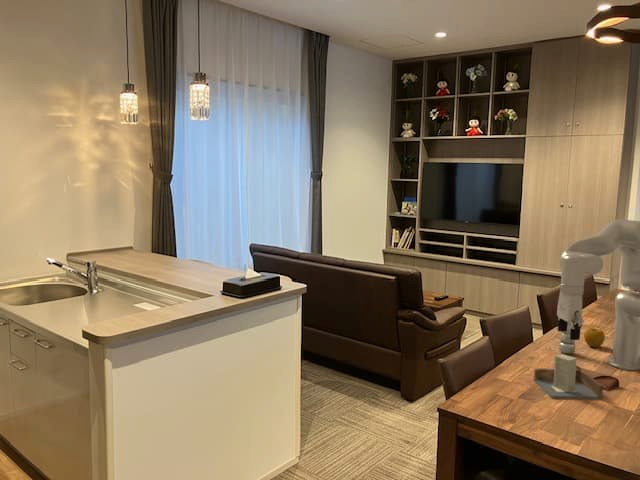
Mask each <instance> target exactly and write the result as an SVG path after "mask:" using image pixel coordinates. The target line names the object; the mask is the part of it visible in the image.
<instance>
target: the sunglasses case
mask: <svg viewBox="0 0 640 480" xmlns="http://www.w3.org/2000/svg"><path fill="white" fill-rule="evenodd" d="M576 369H581V370H583V371H584V372H585V373H587V374H588V375H589V376H591V377H592V378H593V379H594V380H596V381H597V382H598V383H600V384H601V385H602V386H603V391H607V392H611V391H612V390H614V389H617V388H619V387H620V381H619V379H618V378H617V377H614V376H612V375H606V374H604V373H603V374H602V373H601V372H596V371H594V370H590V369H587V368H583V367H580V366H579V365H576Z"/></svg>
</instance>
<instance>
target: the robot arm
mask: <svg viewBox="0 0 640 480" xmlns="http://www.w3.org/2000/svg"><path fill="white" fill-rule="evenodd" d="M616 249H618V250H619V251H620V253H621V267H620V283H621V286H622V287H623V288H625V289H628V290H633V291H636V292H633V291H620V292H619V293H617V294H616V296H615V298H614V309H615V323H614V324H615V325H614V333H613V334H614V336H613V345H612V357H609V358H608V359H607V363H608V365H610V366H611V367H614V368H617V369H620V370H625V371H640V319H639V318H640V293H639V292H640V220H630V219H613V220H611V221H609V222H608V223H607V224H606V225H605V226H604V227H603V228H602V229H601V230H599V232H598V233H596V234H595V235H593V236H591V237H587V238H585V239H580V240H578V241H576V242H574V243H572V244H571V245H569V246H568V247H567V248H566V249H565V250H564V251H563V253H562V254H561V256H560V259H559V265H560V267H561V277H560V291H559V294H558V295H559V296H558V300H557V308H556V309H557V310H556V315H557V321H558V322H557V331H558V332H562V331H563V332H566V331H567V323H568V322H571V326H572V329H571V331H570V339H571V340H575V341H580V337H581V330H582V327H583V323H584V319H583V295H584V292H585V291H584V290H585V288H584V287H585V275H589V276H590V275H591V276H594V275H597V274H599V273H601V271H602V269H604V268H603V267H604V260H603V259H602V257H601V256H607V255H610V254H612V253H614V252H615V251H616ZM637 291H638V292H637ZM574 323H576V324H575V325H574Z"/></svg>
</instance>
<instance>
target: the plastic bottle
mask: <svg viewBox="0 0 640 480" xmlns="http://www.w3.org/2000/svg"><path fill="white" fill-rule="evenodd" d="M575 324H576V323H574V325H575ZM571 329H572V326H571V322H568V323H567V331H566V332H563V331H561V336H560V342H559V346H558V347H559V349H558V350H559V351H560V352H561V354H565V355H574V353H575V352H576V340H571V339H570V331H571Z"/></svg>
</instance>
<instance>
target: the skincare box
mask: <svg viewBox="0 0 640 480" xmlns="http://www.w3.org/2000/svg"><path fill="white" fill-rule="evenodd" d="M576 366H577V358H576V357H573V356H569V355H568V354H566V353H561V354H555V355H554V368H553V369H554V387H556V388H558V389H561V390H563V391H566V392H570V391H574V390H575V379H576Z"/></svg>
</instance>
